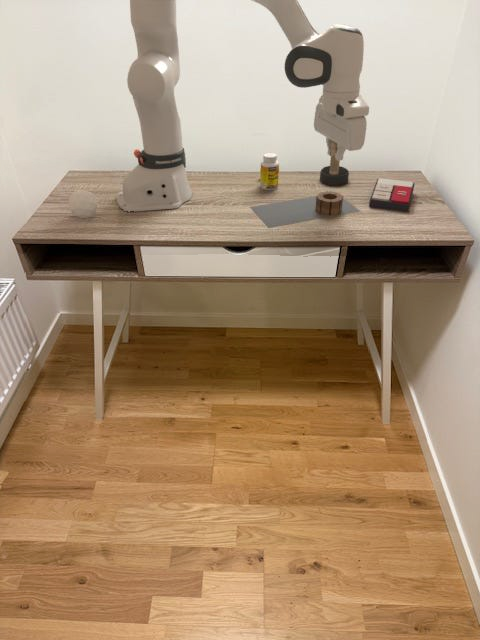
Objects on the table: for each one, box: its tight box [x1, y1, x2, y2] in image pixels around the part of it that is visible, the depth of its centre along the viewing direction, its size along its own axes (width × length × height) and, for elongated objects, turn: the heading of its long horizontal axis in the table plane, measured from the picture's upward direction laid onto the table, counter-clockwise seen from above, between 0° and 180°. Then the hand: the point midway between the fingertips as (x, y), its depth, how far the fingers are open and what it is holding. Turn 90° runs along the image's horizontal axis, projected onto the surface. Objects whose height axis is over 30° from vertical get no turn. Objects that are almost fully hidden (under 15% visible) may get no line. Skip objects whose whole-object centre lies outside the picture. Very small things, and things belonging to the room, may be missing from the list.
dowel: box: [329, 141, 341, 175], centre depth 127 cm, size 2×2×10 cm
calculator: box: [368, 178, 415, 213], centre depth 141 cm, size 11×4×15 cm
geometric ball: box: [68, 189, 99, 220], centre depth 134 cm, size 8×8×8 cm
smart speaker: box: [319, 165, 350, 187], centre depth 153 cm, size 9×9×4 cm
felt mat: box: [249, 195, 361, 228], centre depth 138 cm, size 28×14×1 cm, turn 110°
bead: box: [315, 191, 344, 217], centre depth 135 cm, size 7×7×4 cm
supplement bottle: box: [259, 152, 280, 191], centre depth 148 cm, size 6×6×10 cm
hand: (335, 157), depth 128 cm, fingers closed on dowel, 2 cm apart
